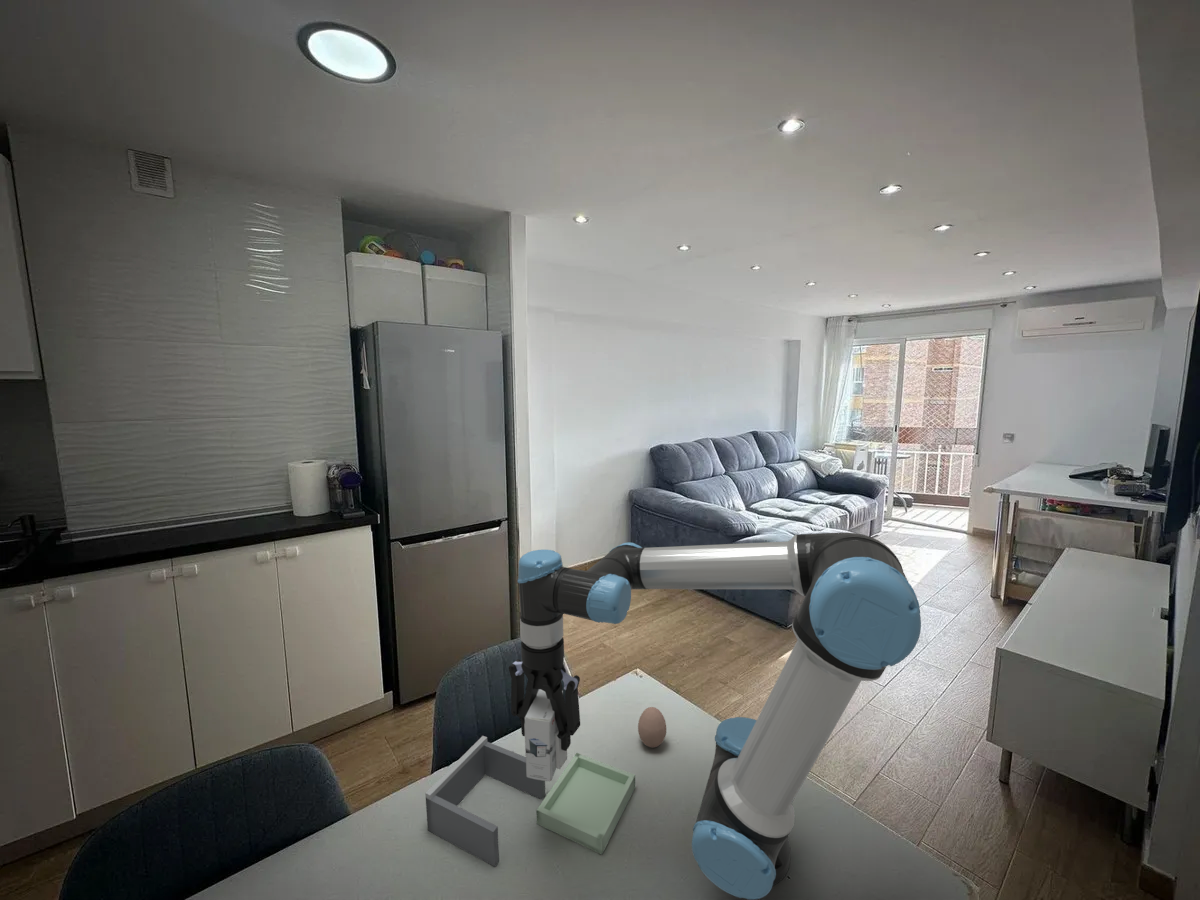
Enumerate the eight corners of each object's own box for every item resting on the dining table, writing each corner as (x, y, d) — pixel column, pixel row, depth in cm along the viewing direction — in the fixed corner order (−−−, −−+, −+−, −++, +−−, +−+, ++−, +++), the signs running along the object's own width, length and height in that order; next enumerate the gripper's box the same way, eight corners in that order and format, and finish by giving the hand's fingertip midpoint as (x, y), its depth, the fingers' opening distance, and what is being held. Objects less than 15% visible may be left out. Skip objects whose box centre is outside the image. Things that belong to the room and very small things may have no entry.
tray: (635, 787, 100) (635, 774, 100) (601, 854, 86) (601, 840, 85) (576, 764, 106) (576, 752, 106) (536, 823, 92) (536, 810, 92)
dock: (545, 795, 98) (544, 760, 97) (494, 867, 84) (493, 826, 83) (484, 768, 105) (482, 735, 104) (427, 830, 91) (425, 792, 90)
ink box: (541, 743, 92) (538, 686, 90) (566, 746, 91) (564, 689, 89) (525, 778, 83) (522, 717, 82) (553, 782, 82) (550, 720, 81)
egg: (653, 760, 107) (653, 723, 106) (632, 743, 112) (632, 708, 111) (672, 745, 112) (672, 709, 111) (651, 730, 117) (651, 695, 115)
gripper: (599, 639, 83) (601, 759, 86) (511, 618, 91) (515, 728, 94) (579, 662, 77) (582, 791, 80) (486, 637, 85) (491, 755, 88)
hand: (546, 757), depth 87 cm, fingers closed on ink box, 6 cm apart
